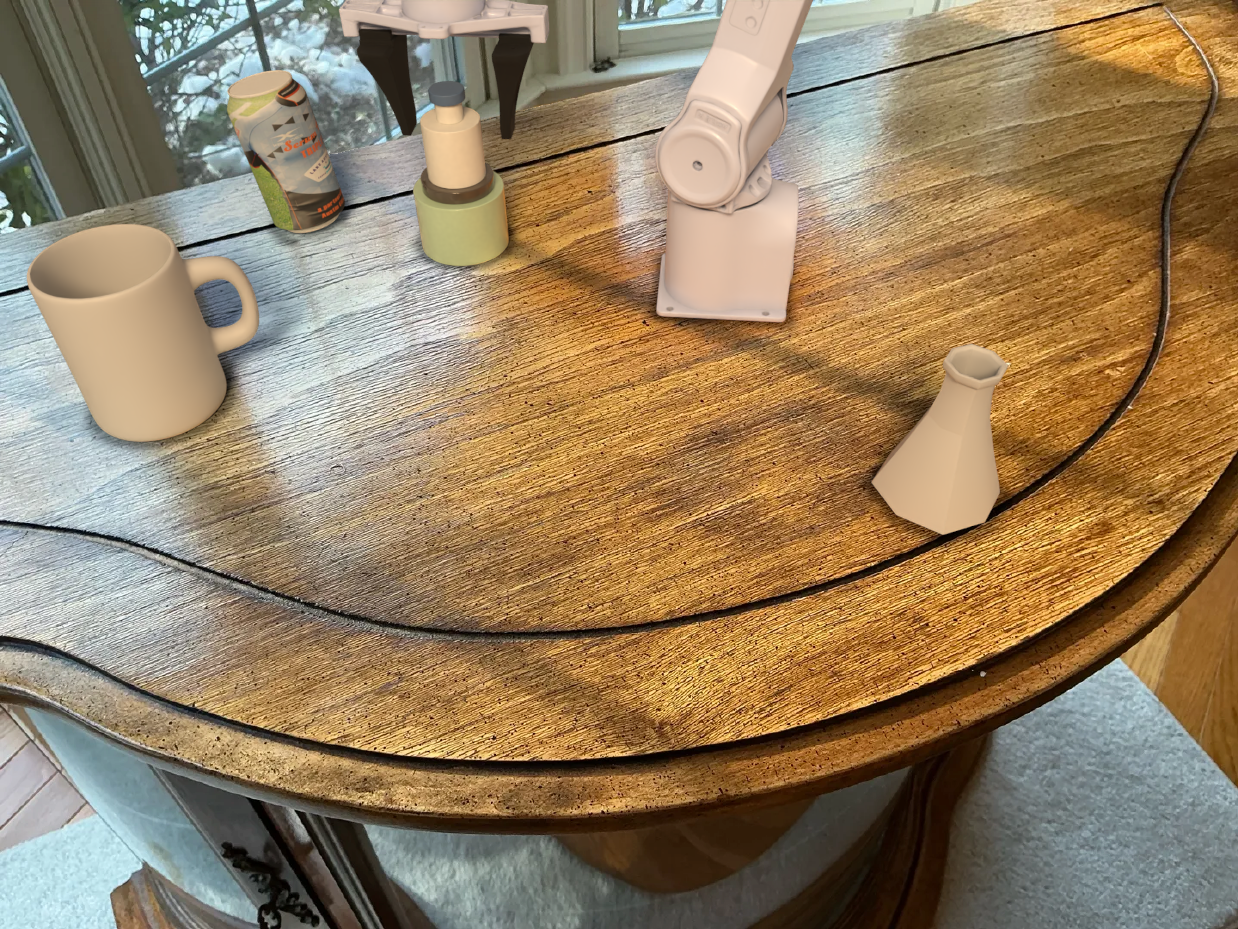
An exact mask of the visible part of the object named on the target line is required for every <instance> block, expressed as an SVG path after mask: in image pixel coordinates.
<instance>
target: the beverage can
mask: <svg viewBox="0 0 1238 929" xmlns="http://www.w3.org/2000/svg"><path fill="white" fill-rule="evenodd" d="M226 92H227V94H228V102H227V105H226V106H227V108H226V112H227V115H228V117H229V120H230V122H231V125H232V127H233V129H234V131H235V134H236V136H237V138H238V141H239V143H240V146H241V148H242V151H243V153H244V156H245V158H246V160H247V162H248V165H249V167H250V169H251V172H252V175H253V177H254V180H255V182H256V184H257V186H258V189H259V191H260V194H261V196H262V199H263V201H264V203H265V206H266V208H267V211H268V213H269V216H270V218H271V220H272V222H273V225H275V227H277V228H278V229H281V230H285V231H288V232H290V233H294V234H305V233H306V234H307V233H311V232H315V231H319V230H321V229H324V228H326V227H328V226H329V225H331V224H332V223H334V222H335V221H336V220H337V219H338V218H339V216H340V213H342V211H343V210H344V209H345V206H346V199H345V196H344V194H343V191H342V189H341V186H340V183H339V180H338V178H337V174H336V172H335V169H334V166H333V162H332V161H331V158H330V155H329V153H328V149H327V147H326V144H325V142H324V139H323V136H322V133H321V130H320V127H319V124H318V122H317V119H316V116H315V113H314V111H313V108H312V104H311V102H310V100H309V97H308V94H307V91H306V90H305V88H304V86H303V85H302V84H300V83H299V82H298V81H297V80H296V79H294V78H293V75H292V73H291V72H290V71H288V70H284V69H283V70H282V69H280V70H279V69H276V70H267V71H261V72H257V73H254V74H251V75H248V76H246V77H242V78H241V79H239V80H237V81H235V82H233V83H232V84H231V85H229V87H228V88H227V91H226Z"/></svg>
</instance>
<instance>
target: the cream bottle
mask: <svg viewBox="0 0 1238 929" xmlns="http://www.w3.org/2000/svg"><path fill="white" fill-rule="evenodd" d="M427 93H428V99H429V102H430V103H431V105H434V108H433V109H430V110H428V111H426V112H424V114H422V116H421V117H420V120H419V123H420V124H419V125H420V130H421V137H422V146H423V152H424V157H425V163H426V167H427V171H428V177H429V180H430V181H431V182H432V183H433V184H434V185H436V186H439V187H442V188H447V189H460V188H467V187H470V186H473V185H475V184H477V183H479V182H481V181H482V180H483V179H484V177H485V175H486V168H485V163H486V158H485V151H484V140H483V132H482V120H481V115H480V114H479V113H478V111H477V110H475V109H473V108H471V107H467V106H464V105H463V102H464V101H465V100H466V90H465V85H464V84H463V83H461V82H459V81H454V80H443V81H438V82H435V83H433V84H430V86H429V87H428V88H427Z"/></svg>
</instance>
